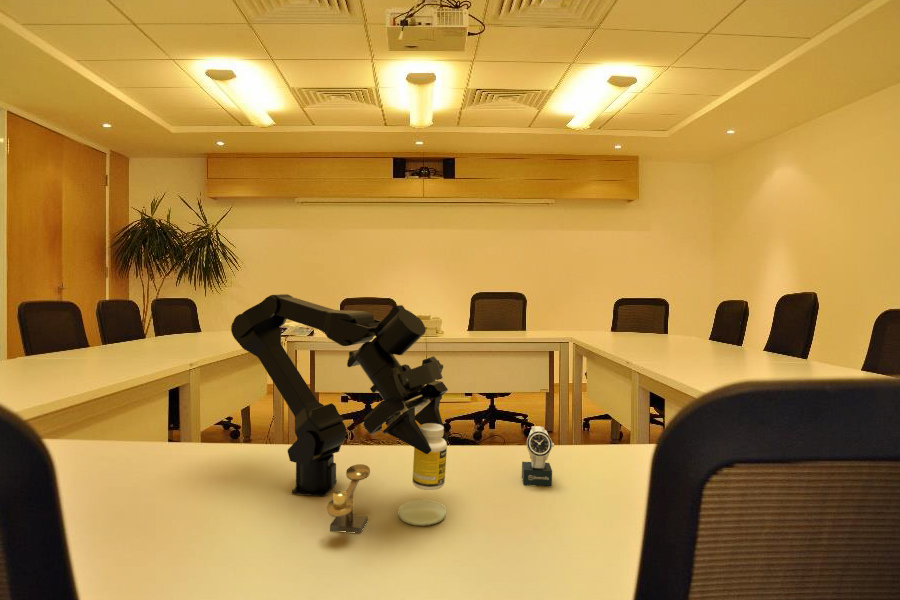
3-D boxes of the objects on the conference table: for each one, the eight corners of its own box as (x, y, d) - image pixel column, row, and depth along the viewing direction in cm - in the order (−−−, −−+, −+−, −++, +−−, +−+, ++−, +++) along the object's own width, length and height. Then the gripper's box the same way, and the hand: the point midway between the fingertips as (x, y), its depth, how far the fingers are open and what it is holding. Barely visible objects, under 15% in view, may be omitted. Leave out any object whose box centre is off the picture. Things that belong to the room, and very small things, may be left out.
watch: (524, 489, 97) (526, 433, 97) (521, 473, 105) (522, 421, 105) (553, 490, 97) (555, 434, 96) (548, 474, 105) (549, 422, 104)
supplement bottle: (442, 492, 81) (445, 433, 80) (409, 489, 82) (412, 430, 81) (446, 479, 86) (449, 422, 86) (415, 476, 87) (418, 420, 86)
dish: (393, 525, 82) (393, 519, 82) (404, 503, 90) (404, 497, 90) (441, 529, 81) (442, 523, 81) (448, 507, 89) (448, 501, 89)
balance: (319, 546, 76) (319, 494, 75) (347, 506, 89) (347, 463, 88) (351, 549, 75) (352, 497, 75) (375, 509, 88) (375, 465, 87)
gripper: (382, 349, 76) (443, 436, 72) (440, 336, 92) (493, 406, 88) (339, 392, 80) (394, 476, 76) (402, 373, 97) (451, 441, 92)
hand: (437, 447), depth 83 cm, fingers closed on supplement bottle, 5 cm apart
